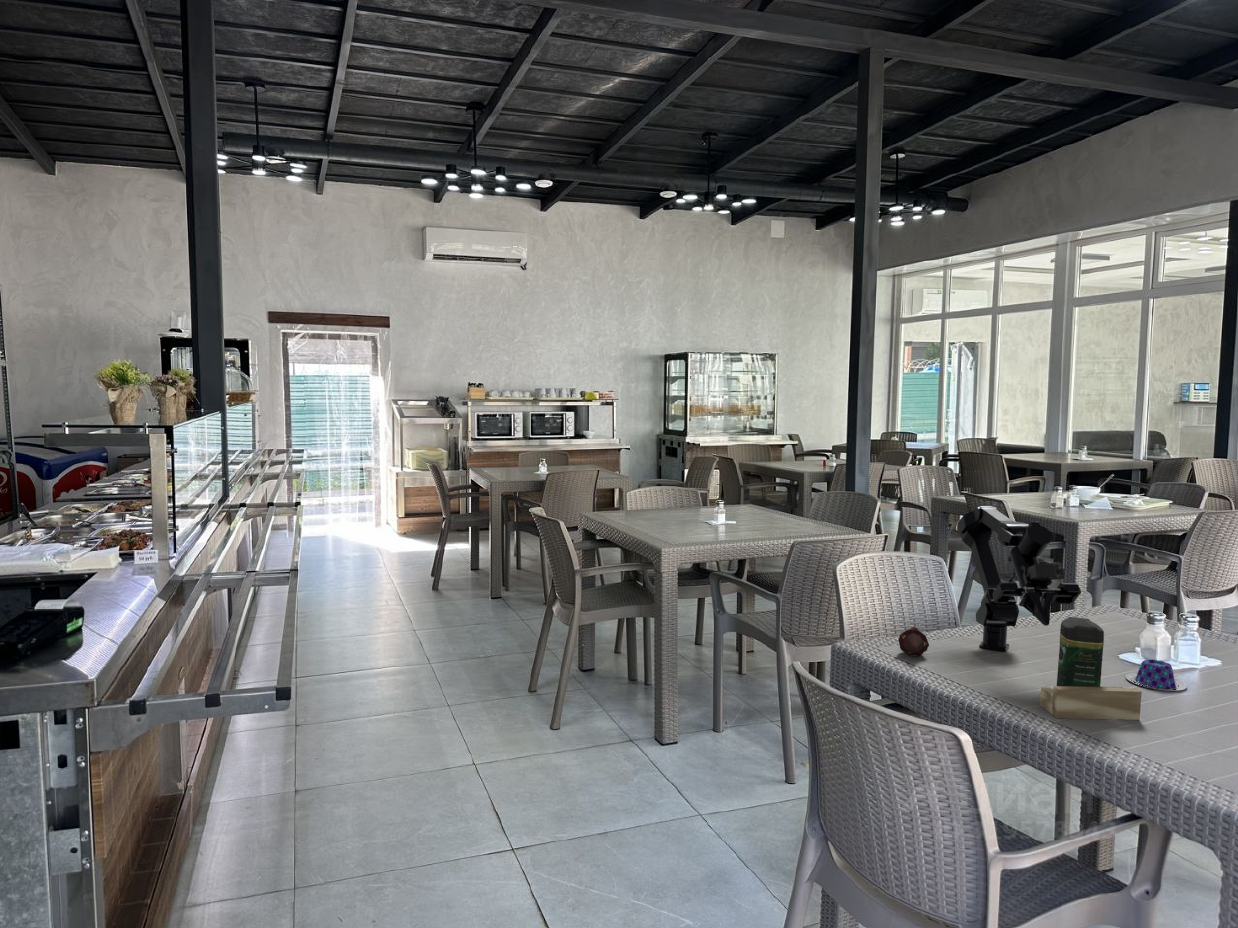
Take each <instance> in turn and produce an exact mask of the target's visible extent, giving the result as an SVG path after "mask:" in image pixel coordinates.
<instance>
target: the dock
mask: <svg viewBox="0 0 1238 928" xmlns="http://www.w3.org/2000/svg"><path fill="white" fill-rule="evenodd" d="M1039 699H1040V700H1039V706H1040V707H1041V708H1043V709H1044V710H1045V711H1047V712H1048V713H1050V715H1052V716H1053V717H1054V718H1055V719H1075V720H1076V719H1077V720H1078V719H1082V720H1083V719H1084V720H1087V719H1089V720H1121V721H1123V720H1126V721H1127V720H1128V721H1131V720H1132V721H1140V718H1141V707H1142V706H1141V704H1142V691H1141V690H1139V689H1138V688H1136V687H1123V686H1100V687H1097V686H1064V687H1062V686H1056V685H1055V686H1053V688H1052V687H1047V686H1045V687H1044V686H1042V687H1040V698H1039Z"/></svg>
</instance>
